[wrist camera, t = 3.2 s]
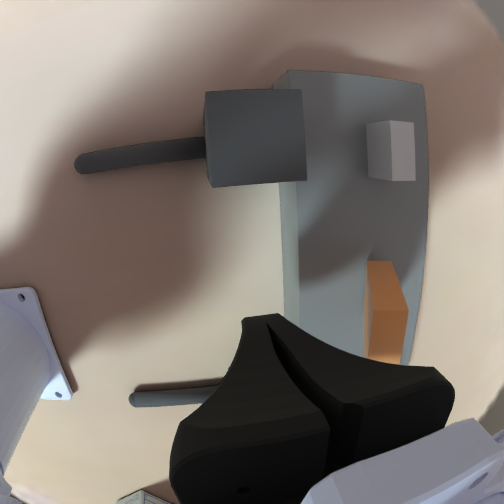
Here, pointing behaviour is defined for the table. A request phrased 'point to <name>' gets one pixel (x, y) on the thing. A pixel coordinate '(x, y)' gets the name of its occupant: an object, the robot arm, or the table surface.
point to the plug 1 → (229, 141)
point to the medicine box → (141, 499)
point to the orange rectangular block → (383, 313)
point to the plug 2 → (171, 397)
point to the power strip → (354, 202)
